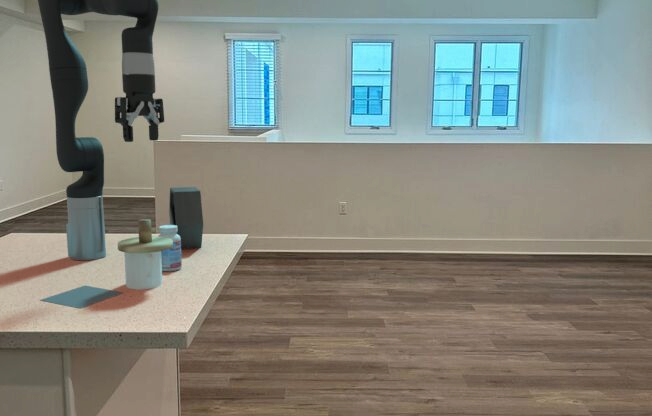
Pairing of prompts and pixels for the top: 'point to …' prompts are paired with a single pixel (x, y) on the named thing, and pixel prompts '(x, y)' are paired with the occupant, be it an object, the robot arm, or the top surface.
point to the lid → (145, 240)
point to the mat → (82, 296)
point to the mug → (143, 270)
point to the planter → (187, 215)
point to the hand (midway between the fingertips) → (141, 141)
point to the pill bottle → (171, 249)
